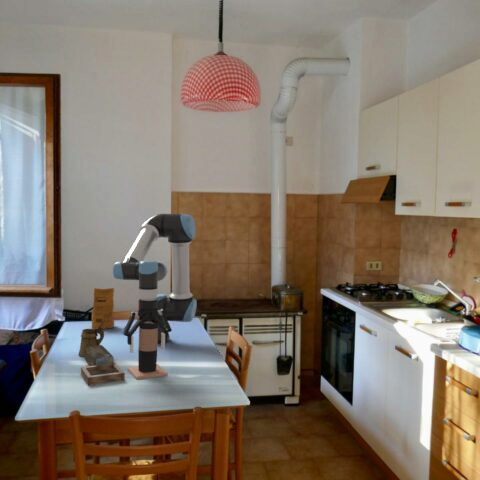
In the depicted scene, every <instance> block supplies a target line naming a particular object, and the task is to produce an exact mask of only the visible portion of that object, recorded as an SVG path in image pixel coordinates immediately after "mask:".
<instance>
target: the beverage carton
mask: <svg viewBox="0 0 480 480" xmlns="http://www.w3.org/2000/svg"><path fill="white" fill-rule="evenodd" d="M84 360H85V361H86V362H87V364H88V366H95V365H104V364H112V363H115V359H114V356H113V355H112V353H111V352H110V351H109V350H107V348H105V347H104V346H103V344H100V345H98V346H91V347H85V357H84Z"/></svg>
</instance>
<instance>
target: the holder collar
mask: <svg viewBox="0 0 480 480" xmlns="http://www.w3.org/2000/svg"><path fill="white" fill-rule="evenodd" d="M125 374H126V373H125V371H124V370H123V369H122V368H121V367H120V366H119V365H118V364H117V363H116V362H114V363H112V364H104V365H95V366H90V365H88V366H81V367H80V375H81V377H82V378H83V379H84V382H85V383H86V384H87V385H88V386H93V385H101V384H107V383H116V382H117V383H118V382H123V381H126V380H125V379H126V378H125V377H126V375H125Z"/></svg>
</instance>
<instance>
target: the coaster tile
mask: <svg viewBox="0 0 480 480" xmlns="http://www.w3.org/2000/svg"><path fill="white" fill-rule="evenodd" d="M126 369H127V372H129V373H130V375H132V377H134V379H135V380H142V379H149V378H157V377H163V376H168V375H169V374H168V371H166V370H165V369H164V368H163V367H161V365H159V364H158V363H156V371H154V372H140V371H139V367H138V365H137V366H130V367H129V366H128V367H127V368H126Z"/></svg>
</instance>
